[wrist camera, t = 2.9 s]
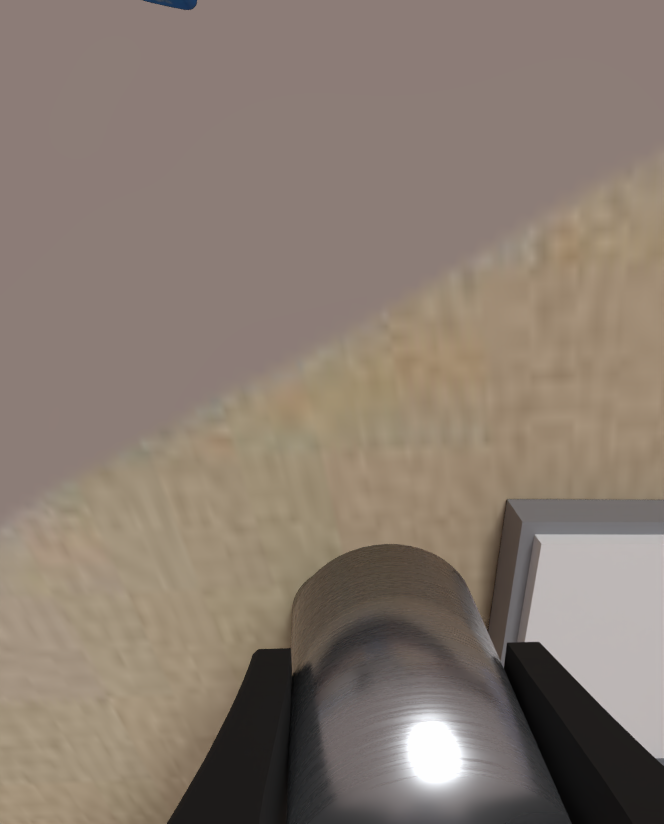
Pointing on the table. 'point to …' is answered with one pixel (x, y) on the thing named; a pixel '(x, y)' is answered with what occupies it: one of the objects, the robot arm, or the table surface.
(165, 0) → the ink box
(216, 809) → the robot arm
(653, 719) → the scale
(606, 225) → the table surface
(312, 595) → the cylinder
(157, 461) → the table surface
